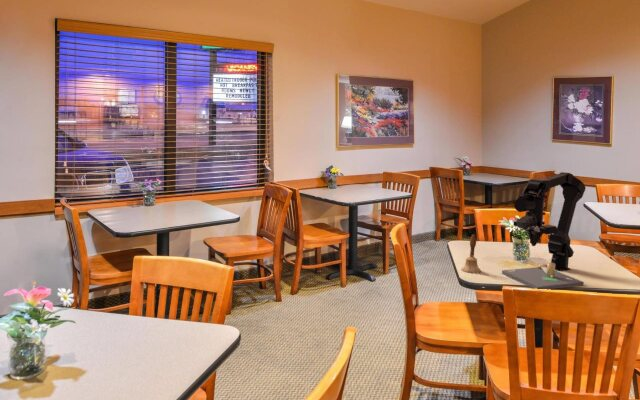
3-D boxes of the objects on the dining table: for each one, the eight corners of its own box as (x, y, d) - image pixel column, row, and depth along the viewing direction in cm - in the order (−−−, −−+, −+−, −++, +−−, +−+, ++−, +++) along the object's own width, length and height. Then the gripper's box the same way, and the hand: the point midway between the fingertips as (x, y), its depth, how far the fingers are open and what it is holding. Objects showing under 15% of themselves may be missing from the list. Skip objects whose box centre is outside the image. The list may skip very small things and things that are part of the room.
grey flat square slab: (544, 269, 224) (544, 266, 224) (583, 285, 204) (583, 281, 203) (501, 273, 218) (502, 270, 218) (537, 290, 197) (537, 286, 197)
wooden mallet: (536, 266, 223) (537, 254, 222) (545, 266, 223) (546, 254, 222) (547, 277, 207) (548, 265, 206) (556, 278, 207) (557, 265, 206)
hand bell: (477, 267, 227) (479, 232, 224) (483, 273, 219) (485, 237, 216) (458, 267, 227) (460, 232, 224) (464, 273, 218) (466, 236, 216)
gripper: (504, 207, 217) (502, 242, 220) (539, 215, 201) (536, 253, 203) (524, 205, 222) (522, 240, 224) (559, 212, 205) (557, 250, 208)
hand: (533, 245), depth 215 cm, fingers closed
